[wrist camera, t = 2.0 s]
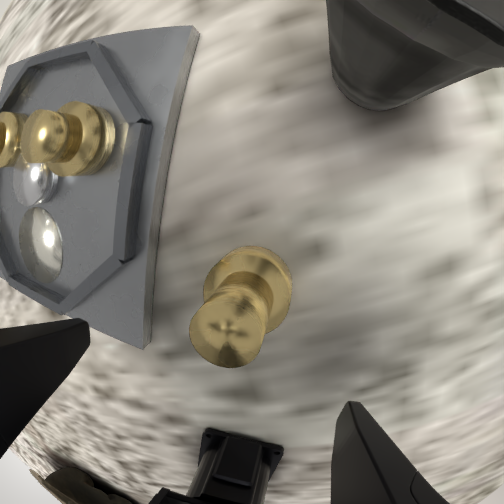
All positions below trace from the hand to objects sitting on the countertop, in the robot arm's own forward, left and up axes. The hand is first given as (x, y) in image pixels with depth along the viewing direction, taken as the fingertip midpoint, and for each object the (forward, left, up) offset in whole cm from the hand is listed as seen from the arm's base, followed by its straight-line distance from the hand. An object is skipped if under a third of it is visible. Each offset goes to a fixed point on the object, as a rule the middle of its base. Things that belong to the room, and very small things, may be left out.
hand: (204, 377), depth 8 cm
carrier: (+4, +16, -8) cm, 19 cm away
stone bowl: (-46, +17, -9) cm, 50 cm away
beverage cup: (+13, -4, -9) cm, 16 cm away
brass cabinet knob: (0, 0, -8) cm, 8 cm away
